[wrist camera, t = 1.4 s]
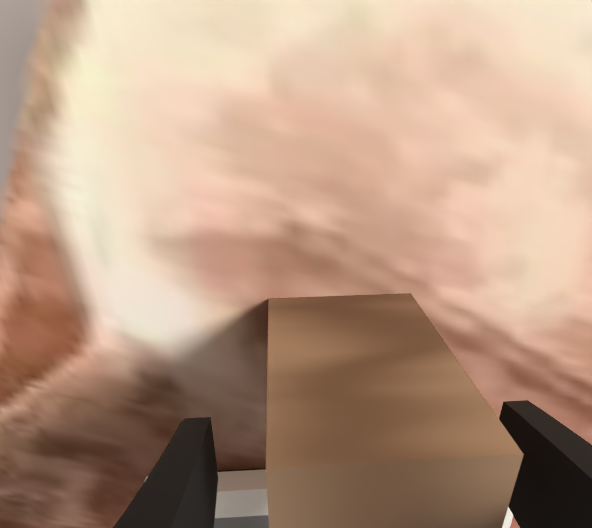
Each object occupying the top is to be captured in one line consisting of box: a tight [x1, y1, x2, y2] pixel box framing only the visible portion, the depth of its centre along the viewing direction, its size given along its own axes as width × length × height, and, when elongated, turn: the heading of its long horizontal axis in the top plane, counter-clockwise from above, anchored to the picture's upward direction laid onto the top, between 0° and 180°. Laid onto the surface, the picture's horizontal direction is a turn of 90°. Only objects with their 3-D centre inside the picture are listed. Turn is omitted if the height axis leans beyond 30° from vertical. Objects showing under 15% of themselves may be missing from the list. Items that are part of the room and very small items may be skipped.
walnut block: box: [266, 293, 524, 528], centre depth 10 cm, size 4×4×6 cm
